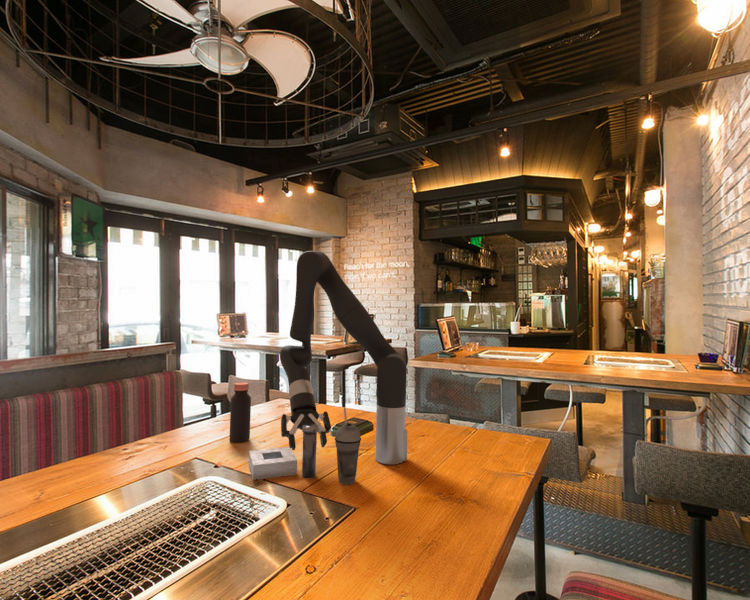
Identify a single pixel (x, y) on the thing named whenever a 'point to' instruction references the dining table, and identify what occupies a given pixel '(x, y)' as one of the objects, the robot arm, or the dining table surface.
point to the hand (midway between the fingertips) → (309, 447)
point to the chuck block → (272, 463)
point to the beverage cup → (347, 452)
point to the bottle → (240, 413)
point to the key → (309, 450)
